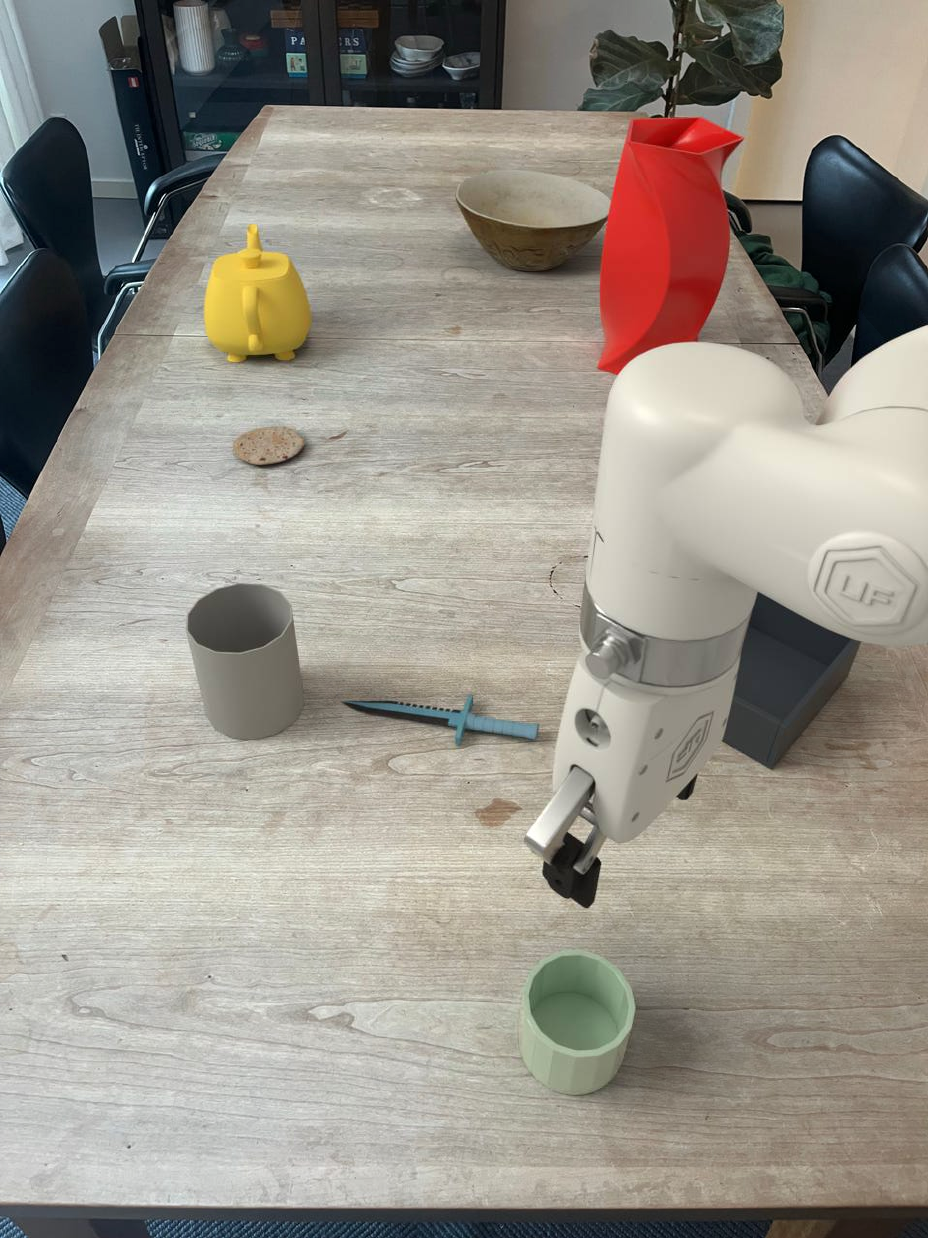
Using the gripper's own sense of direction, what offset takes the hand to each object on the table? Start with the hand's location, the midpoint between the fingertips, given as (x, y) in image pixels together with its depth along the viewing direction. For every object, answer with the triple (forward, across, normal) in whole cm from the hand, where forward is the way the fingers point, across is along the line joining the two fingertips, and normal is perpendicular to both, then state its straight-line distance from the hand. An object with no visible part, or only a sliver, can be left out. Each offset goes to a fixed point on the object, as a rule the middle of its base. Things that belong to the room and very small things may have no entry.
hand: (619, 835), depth 57 cm
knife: (+16, +10, +24) cm, 30 cm away
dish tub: (+16, +31, +7) cm, 36 cm away
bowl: (+16, +90, +78) cm, 120 cm away
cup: (+16, 0, +36) cm, 40 cm away
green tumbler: (+16, -5, -2) cm, 17 cm away
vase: (+16, +75, +46) cm, 90 cm away
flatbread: (+16, +27, +66) cm, 73 cm away
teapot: (+16, +44, +87) cm, 99 cm away
